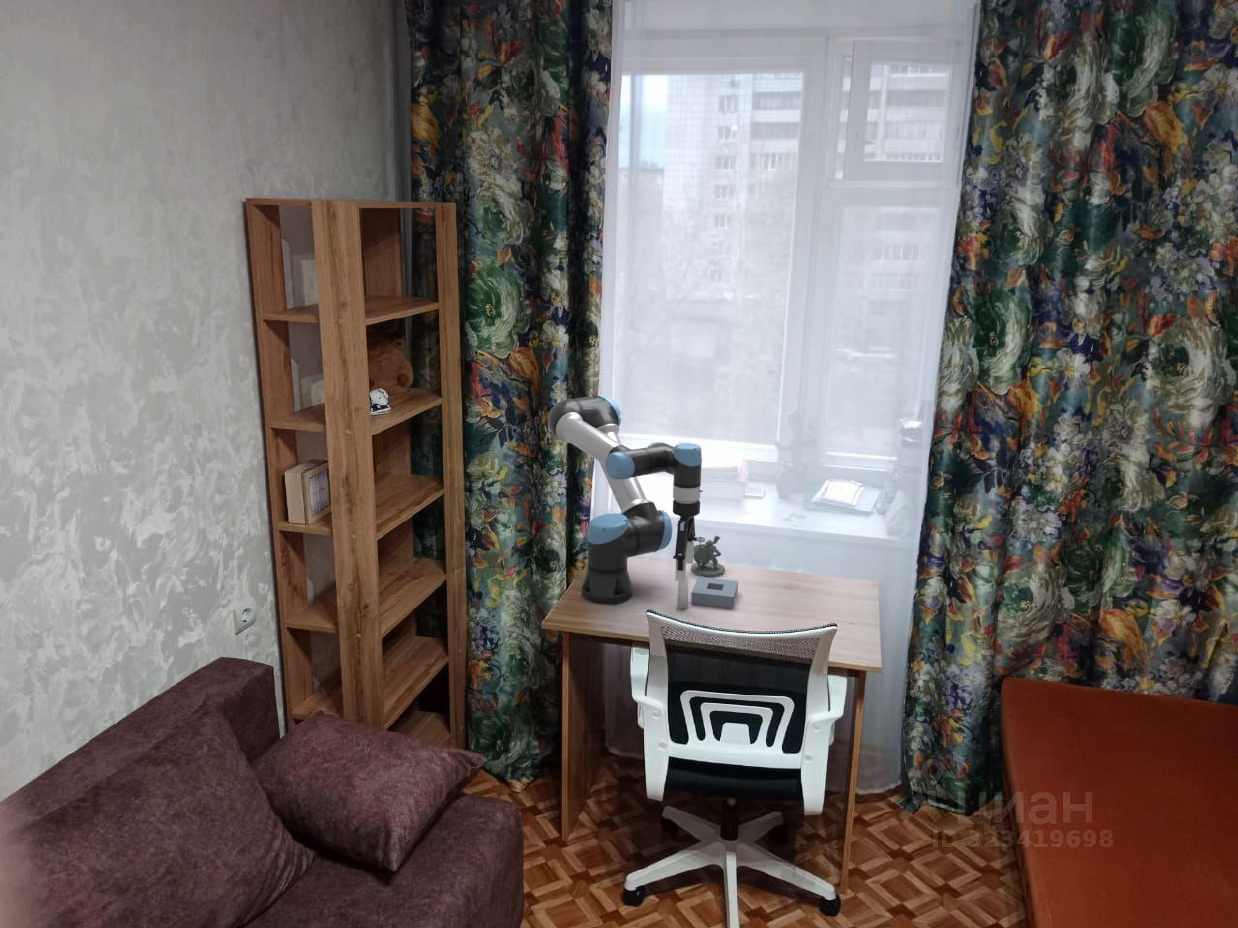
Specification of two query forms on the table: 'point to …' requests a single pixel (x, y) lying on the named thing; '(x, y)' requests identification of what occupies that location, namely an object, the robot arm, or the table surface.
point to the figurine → (707, 559)
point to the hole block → (714, 592)
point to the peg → (683, 593)
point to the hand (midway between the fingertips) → (684, 571)
